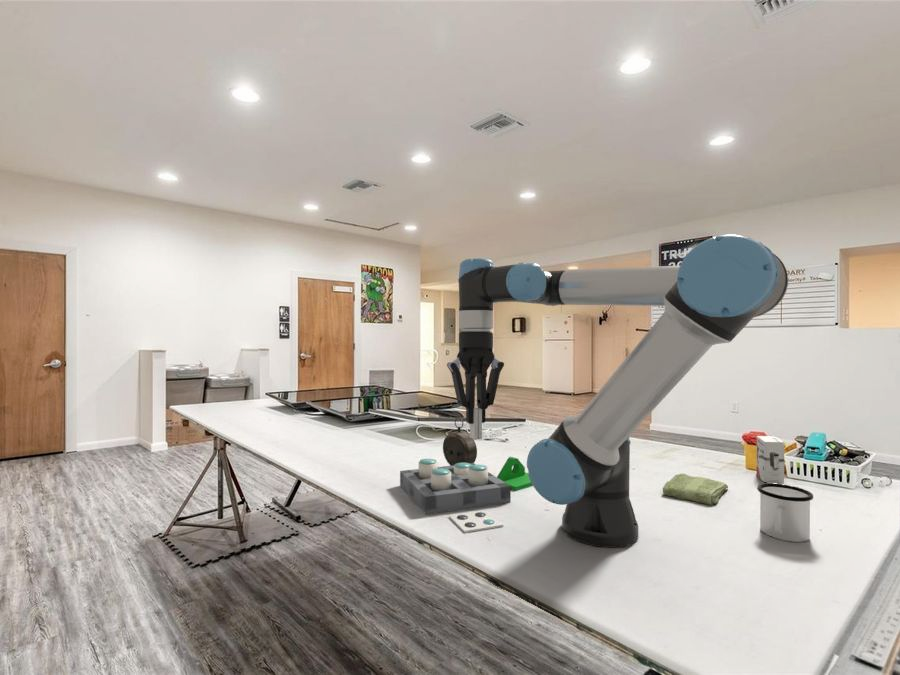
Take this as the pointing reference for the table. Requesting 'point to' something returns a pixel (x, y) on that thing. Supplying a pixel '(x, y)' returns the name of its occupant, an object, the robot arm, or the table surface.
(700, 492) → the washcloth
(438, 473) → the button
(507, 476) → the bracket
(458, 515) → the tile
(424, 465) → the button
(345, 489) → the table surface
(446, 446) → the alarm clock
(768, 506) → the white oval bin
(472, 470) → the button
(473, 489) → the button board
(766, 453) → the ink box
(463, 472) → the button
